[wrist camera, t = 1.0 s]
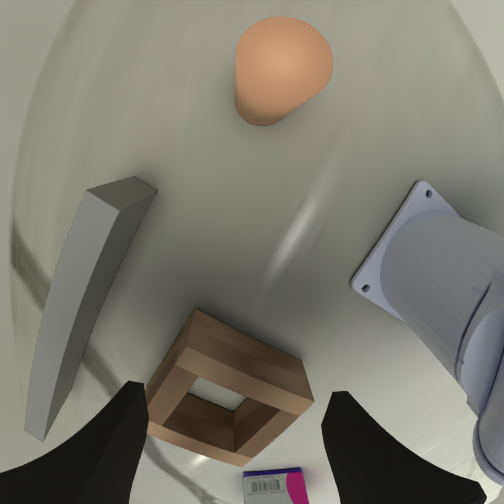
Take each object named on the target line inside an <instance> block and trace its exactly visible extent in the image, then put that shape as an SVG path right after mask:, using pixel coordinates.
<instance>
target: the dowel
mask: <svg viewBox="0 0 504 504" xmlns="http://www.w3.org/2000/svg"><path fill="white" fill-rule="evenodd" d="M332 70H333V56H332V52H331V49H330V46H329V45H328V43H327V41H326V40H325V38H324V37H323V36H322V34H321V33H320V32H319V31H317V30H316V29H315V28H314V27H312V26H311V25H309V24H307V23H306V22H303V21H301V20H298V19H295V18H290V17H271V18H267V19H264V20H261V21H259V22H257V23H255V24H253V25H252V26H251V27H249V28H248V29H247V30H246V31H245V32H244V33H243V35H242V36H241V38H240V40H239V42H238V45H237V48H236V65H235V105H236V109H237V111H238V113H239V114H240V116H241V117H242V118H243V119H244V120H246V121H247V122H249V123H251V124H253V125H258V126H267V125H271V124H274V123H276V122H277V121H279V120H280V119H281V118H283V117H284V116H286V115H287V114H289V113H290V112H291V111H293V110H294V109H296V108H297V107H299V106H300V105H301V104H303V103H304V102H306V101H307V100H309V99H310V98H312V97H313V96H315V95H316V94H318V93H319V92H320V91H321V90H322V89H323V88H324V87H325V86H326V85H327V83H328V81H329V80H330V77H331V75H332Z"/></svg>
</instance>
